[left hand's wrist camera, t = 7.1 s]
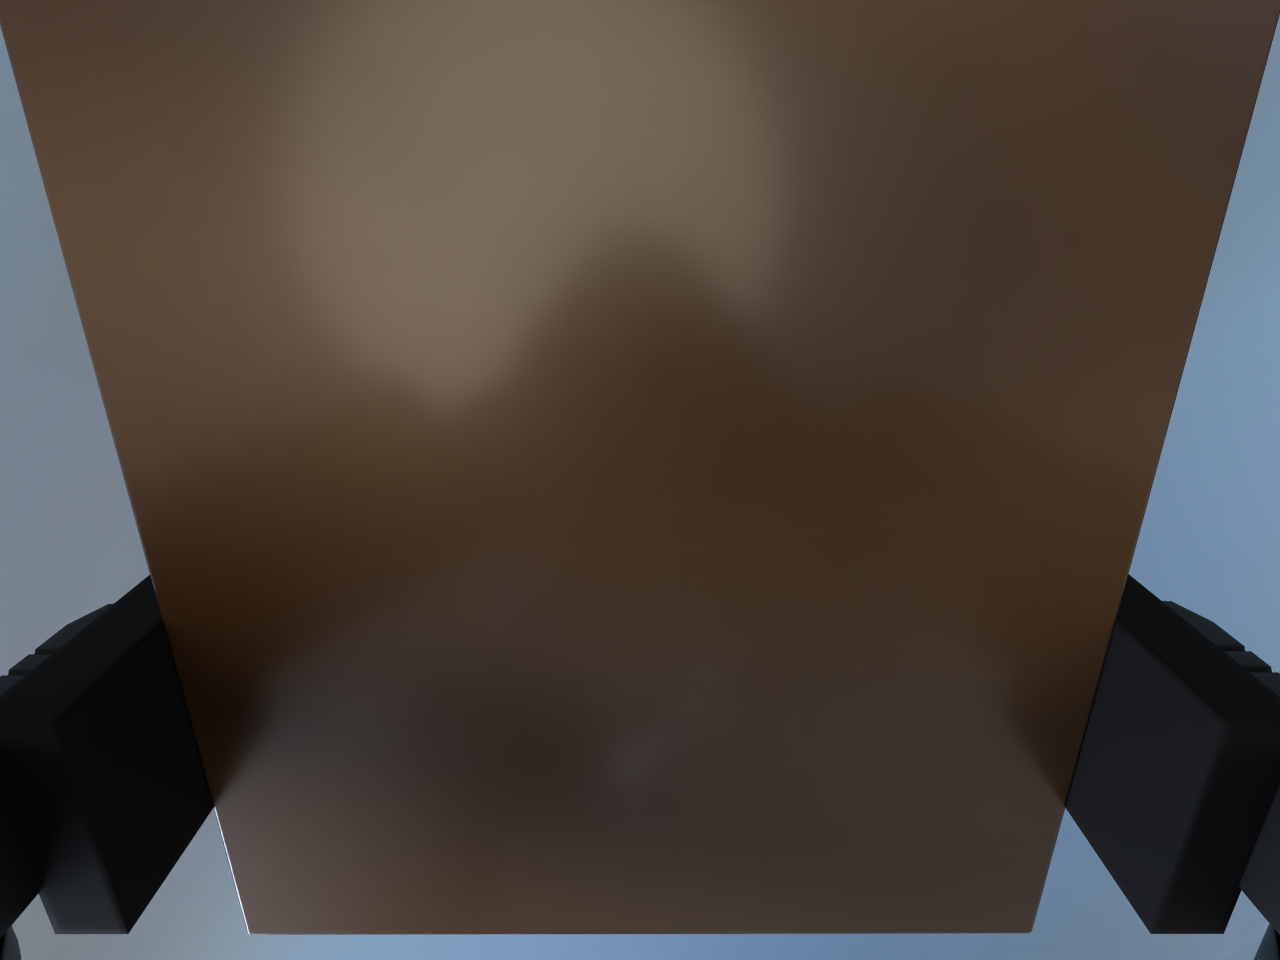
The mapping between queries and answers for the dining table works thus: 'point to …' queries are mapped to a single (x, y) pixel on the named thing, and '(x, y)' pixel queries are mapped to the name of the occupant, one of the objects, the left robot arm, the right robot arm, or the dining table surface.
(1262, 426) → the dining table surface
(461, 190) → the wooden drawer box
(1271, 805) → the left robot arm
